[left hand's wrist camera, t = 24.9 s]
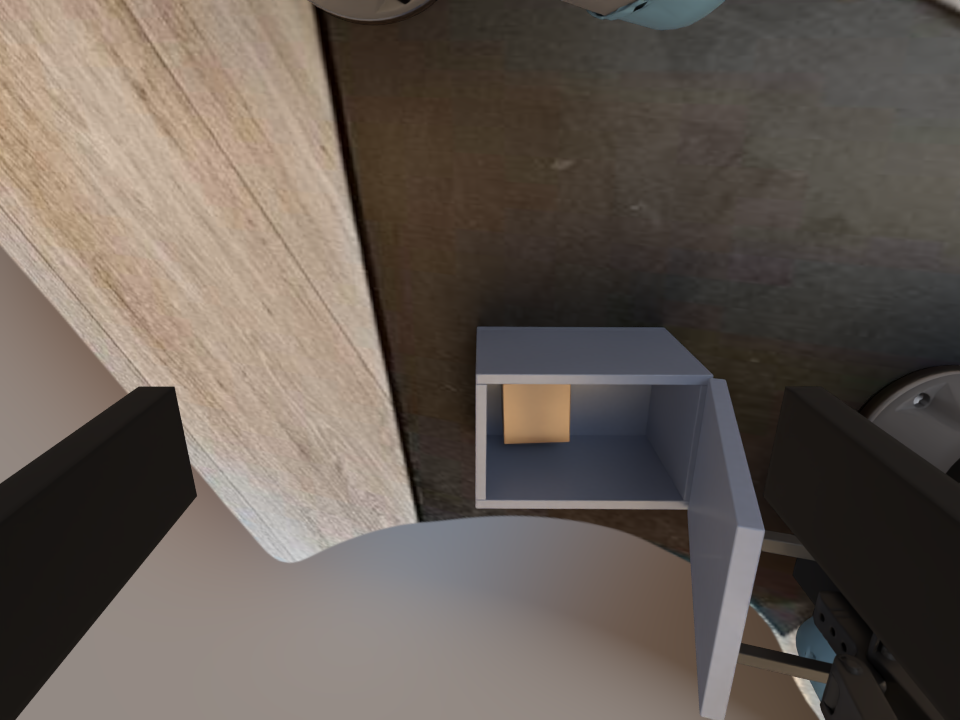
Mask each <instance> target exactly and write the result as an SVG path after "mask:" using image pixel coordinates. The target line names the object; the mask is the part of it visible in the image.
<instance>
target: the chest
mask: <svg viewBox="0 0 960 720" xmlns="http://www.w3.org/2000/svg"><path fill="white" fill-rule="evenodd" d="M709 378H713V374H711V373H710V372H709V371H708V370H707V369H706V368H705V367H704V366H703V365H702V364H701V363H700V362H699V361H698V360H697V359H696V358H695V357H694V356H693V355H692V354H691V353H690V352H689V351H688V350H687V349H686V348H685V347H684V346H683V345H682V344H681V343H680V342H679V341H678V340H676V339H675V338H674V337H673V336H672V335H671V334H670V333H669V332H668V331H667V330H666V329H665V328H664V327H477V343H476V508H513V509H688V507H689V501H690V495H691V488H692V482H693V476H694V469H695V463H696V456H697V450H698V444H699V437H700V431H701V425H702V418H703V412H704V405H705V399H706V393H707V386H708V380H709ZM501 384H571V403H570V441H569V442H551V443H520V444H504V437H503V424H502V403H501Z"/></svg>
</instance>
